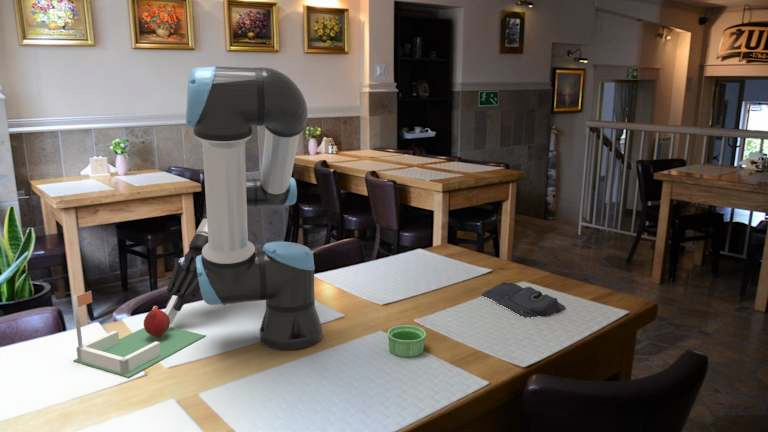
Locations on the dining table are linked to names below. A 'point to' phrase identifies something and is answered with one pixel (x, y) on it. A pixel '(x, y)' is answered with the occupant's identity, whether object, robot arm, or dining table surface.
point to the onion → (156, 322)
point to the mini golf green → (109, 346)
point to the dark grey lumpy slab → (523, 300)
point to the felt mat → (135, 341)
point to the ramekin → (406, 340)
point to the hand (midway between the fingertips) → (166, 321)
